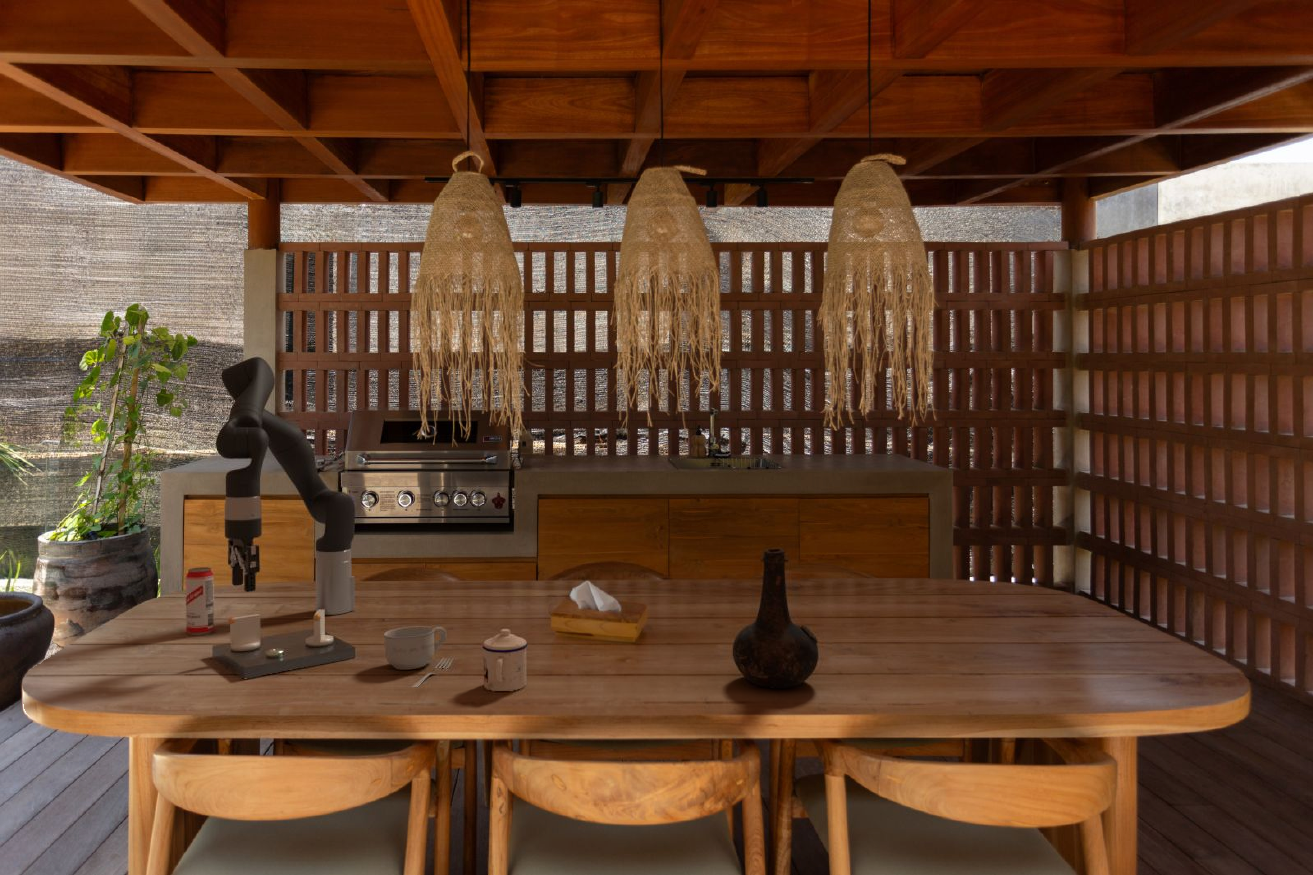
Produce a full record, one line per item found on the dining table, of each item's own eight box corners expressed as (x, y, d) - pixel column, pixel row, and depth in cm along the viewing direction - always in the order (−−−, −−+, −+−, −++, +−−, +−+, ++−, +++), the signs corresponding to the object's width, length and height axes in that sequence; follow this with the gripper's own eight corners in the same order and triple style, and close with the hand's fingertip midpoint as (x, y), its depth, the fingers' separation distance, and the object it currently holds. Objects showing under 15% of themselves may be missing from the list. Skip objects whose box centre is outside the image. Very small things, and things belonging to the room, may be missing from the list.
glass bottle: (818, 698, 177) (820, 559, 176) (728, 693, 180) (730, 555, 179) (817, 671, 195) (819, 544, 194) (735, 667, 198) (736, 541, 197)
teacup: (389, 676, 190) (389, 639, 190) (379, 662, 199) (379, 627, 199) (454, 667, 196) (454, 631, 196) (442, 654, 206) (441, 620, 206)
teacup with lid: (487, 678, 189) (487, 624, 188) (530, 679, 189) (530, 624, 188) (475, 697, 177) (475, 639, 176) (520, 698, 177) (520, 640, 176)
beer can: (202, 636, 220) (201, 572, 219) (180, 635, 221) (179, 571, 220) (220, 630, 226) (219, 567, 225) (198, 628, 227) (197, 566, 226)
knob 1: (254, 642, 205) (254, 610, 205) (263, 647, 201) (263, 615, 201) (224, 647, 201) (223, 615, 201) (232, 653, 196) (232, 620, 196)
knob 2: (308, 639, 208) (307, 608, 207) (335, 638, 209) (334, 607, 209) (302, 647, 201) (302, 615, 201) (330, 646, 202) (330, 614, 202)
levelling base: (317, 638, 219) (317, 621, 219) (355, 657, 203) (355, 640, 203) (212, 656, 203) (212, 638, 203) (244, 679, 187) (244, 660, 187)
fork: (389, 701, 176) (389, 692, 176) (441, 665, 199) (441, 657, 199) (404, 702, 175) (404, 693, 175) (455, 666, 199) (455, 658, 199)
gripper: (271, 518, 197) (271, 591, 198) (250, 511, 208) (250, 581, 208) (235, 521, 192) (236, 595, 193) (215, 514, 203) (216, 585, 203)
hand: (243, 588), depth 200 cm, fingers open, 8 cm apart
